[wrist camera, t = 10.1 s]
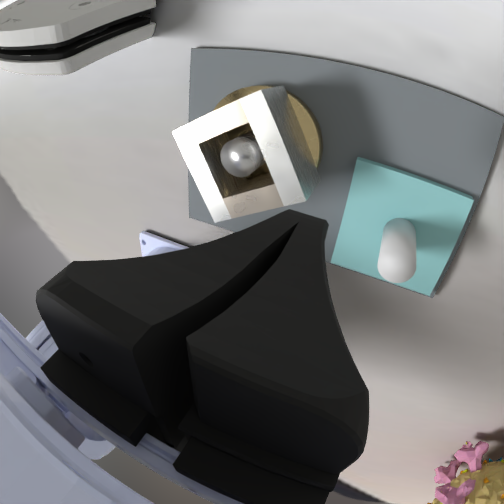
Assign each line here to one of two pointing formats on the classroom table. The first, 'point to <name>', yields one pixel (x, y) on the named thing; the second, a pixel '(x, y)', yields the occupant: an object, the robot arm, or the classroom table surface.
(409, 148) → the board
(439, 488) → the educational model
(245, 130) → the hub
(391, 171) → the stand
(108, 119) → the classroom table surface
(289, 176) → the hollow square metal tube
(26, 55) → the hinge
